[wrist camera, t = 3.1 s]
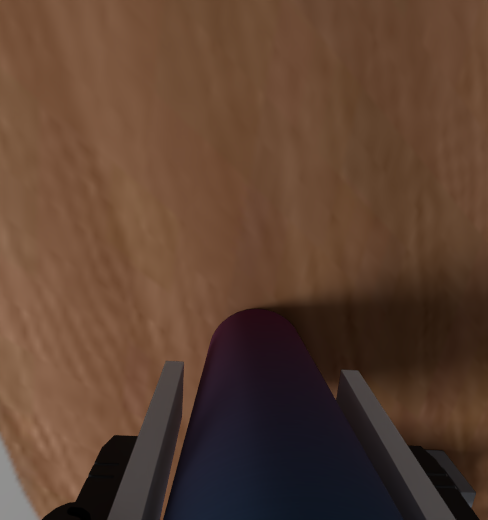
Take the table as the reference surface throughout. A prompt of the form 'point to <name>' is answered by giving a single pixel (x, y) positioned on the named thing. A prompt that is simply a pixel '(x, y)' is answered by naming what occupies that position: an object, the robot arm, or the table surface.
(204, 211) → the table surface
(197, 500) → the cup
